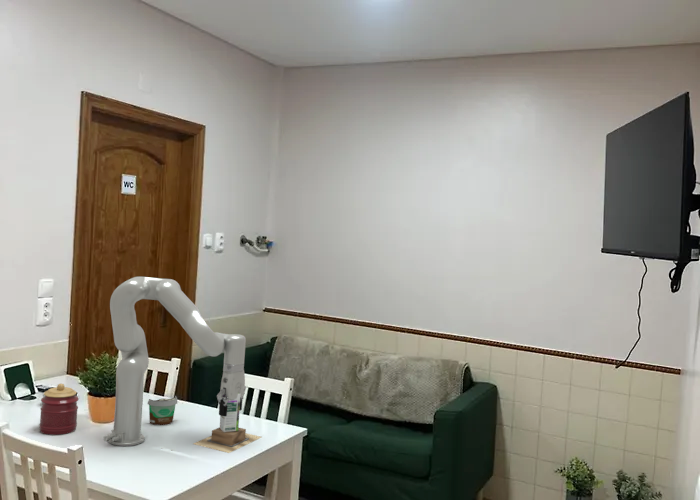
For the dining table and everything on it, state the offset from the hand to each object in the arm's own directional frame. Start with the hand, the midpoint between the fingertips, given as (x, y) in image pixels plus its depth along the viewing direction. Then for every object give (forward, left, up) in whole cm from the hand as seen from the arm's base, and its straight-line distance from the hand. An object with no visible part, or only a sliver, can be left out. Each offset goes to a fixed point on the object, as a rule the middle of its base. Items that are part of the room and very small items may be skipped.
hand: (230, 412), depth 242 cm
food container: (+4, +34, -12) cm, 36 cm away
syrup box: (0, 0, -7) cm, 7 cm away
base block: (0, 0, -10) cm, 10 cm away
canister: (-26, +59, -12) cm, 66 cm away
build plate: (0, 0, -12) cm, 12 cm away
